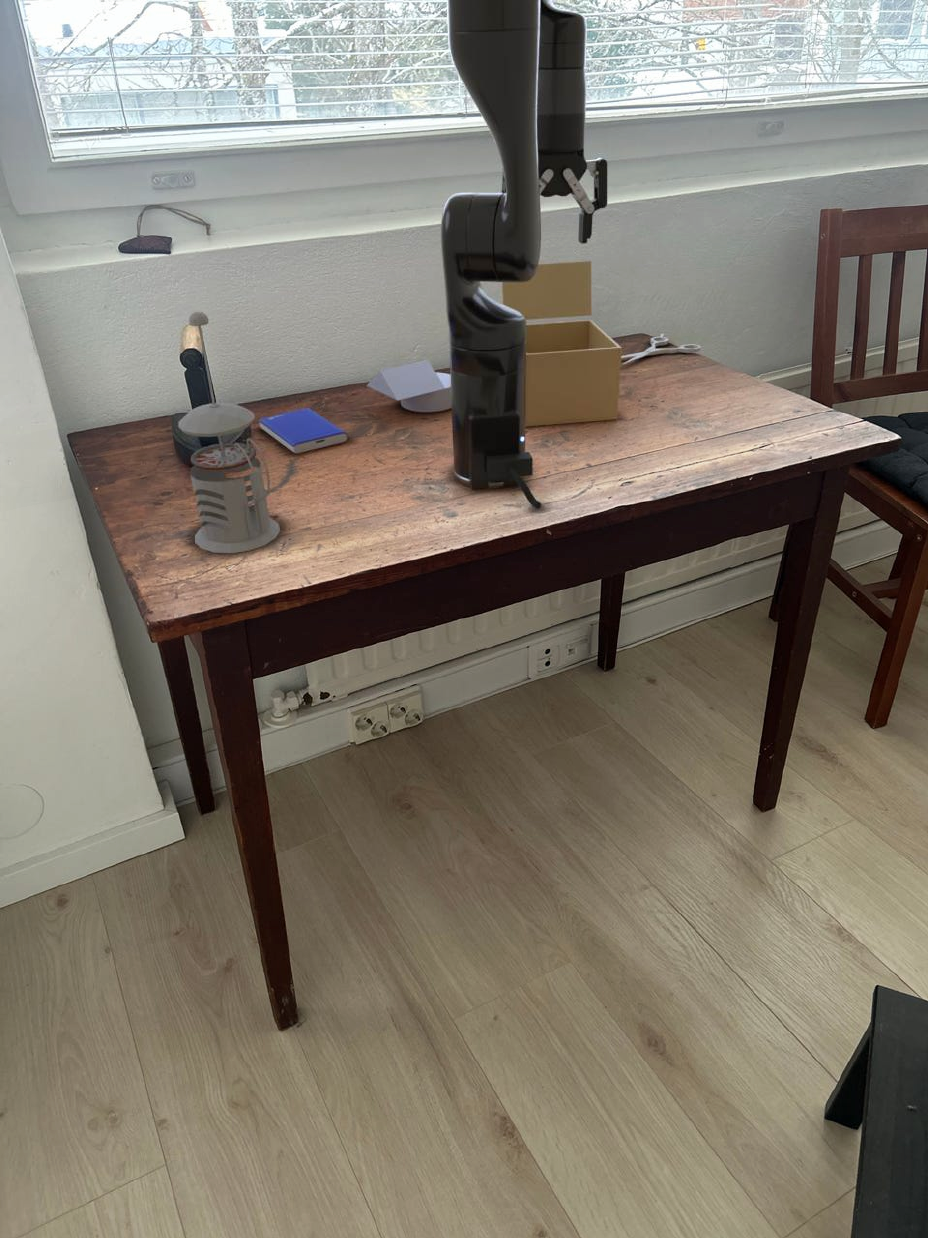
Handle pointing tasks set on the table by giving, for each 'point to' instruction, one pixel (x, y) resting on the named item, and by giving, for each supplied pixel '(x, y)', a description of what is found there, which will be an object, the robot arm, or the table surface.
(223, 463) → the french press
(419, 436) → the table surface
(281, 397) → the table surface
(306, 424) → the hard drive
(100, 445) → the table surface
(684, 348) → the scissors
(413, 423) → the table surface
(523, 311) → the flap
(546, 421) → the carton
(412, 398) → the wedge on round base
